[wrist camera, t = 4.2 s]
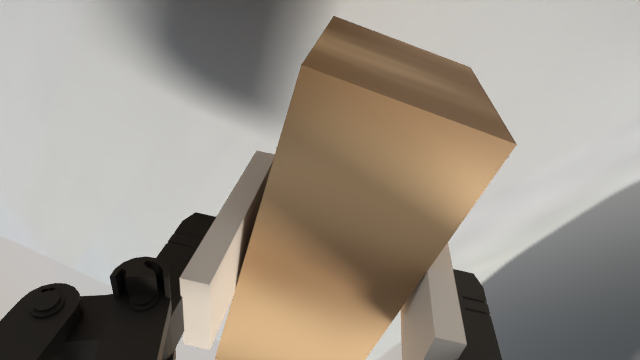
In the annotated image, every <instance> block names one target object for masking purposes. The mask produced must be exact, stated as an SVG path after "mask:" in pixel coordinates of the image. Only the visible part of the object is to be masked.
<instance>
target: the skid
mask: <svg viewBox="0 0 640 360" xmlns="http://www.w3.org/2000/svg"><path fill="white" fill-rule="evenodd" d="M516 145H517V144H516V143H515V141H514V139H513V138H512V136H511V134H510V133H509V131H508V129H507V128H506V126H505V124H504V123H503V121H502V119H501V118H500V116H499V114H498V113H497V111H496V109H495V108H494V106H493V104H492V103H491V101H490V99H489V98H488V96H487V94H486V93H485V91H484V89H483V88H482V86H481V84H480V83H479V81H478V79H477V78H476V76H475V74H474V73H473V71H472V69H471V68H470V67H468V66H465V65H463V64H460V63H457V62H455V61H452V60H449V59H447V58H444V57H441V56H439V55H436V54H433V53H431V52H428V51H425V50H423V49H420V48H417V47H415V46H412V45H409V44H407V43H404V42H401V41H399V40H396V39H394V38H391V37H388V36H386V35H383V34H380V33H378V32H375V31H372V30H370V29H367V28H364V27H362V26H359V25H356V24H354V23H351V22H348V21H346V20H343V19H340V18H338V17H335V16H333V18H332V19H331V21H330V23H329V24H328V26H327V27H326V29H325V30H324V32H323V33H322V35H321V36H320V38H319V39H318V41H317V42H316V44H315V45H314V47H313V48H312V50H311V51H310V53H309V54H308V56H307V57H306V59H305V60H304V62H303V63H302V65H301V68H300V72H299V75H298V78H297V82H296V85H295V89H294V92H293V95H292V99H291V102H290V106H289V109H288V112H287V116H286V119H285V123H284V126H283V129H282V133H281V136H280V140H279V143H278V146H277V150H276V153H275V157H274V160H273V163H272V167H271V170H270V174H269V177H268V180H267V184H266V187H265V191H264V194H263V197H262V201H261V204H260V208H259V211H258V214H257V218H256V221H255V225H254V228H253V231H252V235H251V238H250V242H249V245H248V248H247V252H246V255H245V258H244V262H243V265H242V269H241V272H240V275H239V279H238V282H237V286H236V289H235V292H234V296H233V299H232V303H231V306H230V309H229V313H228V316H227V320H226V323H225V326H224V330H223V333H222V337H221V340H220V343H219V347H218V350H217V354H216V357H215V359H216V360H365V359H366V358H367V356H368V355H369V353H370V352H371V351H372V349H373V348H374V346H375V345H376V343H377V342H378V341H379V339H380V338H381V336H382V335H383V334H384V332H385V331H386V329H387V328H388V326H389V325H390V324H391V322H392V321H393V319H394V318H395V316H396V315H397V314H398V312H399V311H400V309H401V308H402V307H403V305H404V304H405V302H406V301H407V299H408V298H409V297H410V295H411V294H412V292H413V291H414V290H415V288H416V287H417V285H418V284H419V282H420V281H421V280H422V278H423V277H424V275H425V274H426V272H427V271H428V270H429V268H430V267H431V265H432V264H433V263H434V261H435V260H436V258H437V257H438V255H439V254H440V253H441V251H442V250H443V248H444V247H445V245H446V244H447V243H448V241H449V240H450V238H451V237H452V236H453V234H454V233H455V231H456V230H457V228H458V227H459V226H460V224H461V223H462V221H463V220H464V218H465V217H466V216H467V214H468V213H469V211H470V210H471V209H472V207H473V206H474V204H475V203H476V201H477V200H478V199H479V197H480V196H481V194H482V193H483V191H484V190H485V189H486V187H487V186H488V184H489V183H490V182H491V180H492V179H493V177H494V176H495V174H496V173H497V172H498V170H499V169H500V167H501V166H502V164H503V163H504V162H505V160H506V159H507V157H508V156H509V155H510V153H511V152H512V150H513V149H514V147H515V146H516Z"/></svg>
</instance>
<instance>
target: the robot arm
mask: <svg viewBox="0 0 640 360" xmlns="http://www.w3.org/2000/svg"><path fill="white" fill-rule="evenodd" d="M274 157H275V155H274V154H270V153H265V152H261V151H256V153H255V154H254V156H253V157H252V159H251V161H250V162H249V164H248V166H247V167H246V169H245V171H244V172H243V174H242V176H241V177H240V179H239V181H238V182H237V184H236V186H235V187H234V189H233V191H232V192H231V194H230V195H229V197H228V199H227V200H226V202H225V204H224V205H223V207H222V209H221V210H220V212H219V214H218V215H217V217H214V216H209V215H205V214H200V213H194V214H193V215H191V216H189V217H188V218H186V219H185V220H183V221H182V223H181V224H180V225H179V227H178V228H177V230H176V231H175V233H174V234H173V235H172V237H171V238H170V239H169V241H168V244H166V245H165V246H164V248H163V249H162V251H161V252H160V253H159V255H158V256H157V258H151V257H139V258H134V259H131V260H128V261H126V262H124V263H122V264H121V265H119V266H118V267H117V268H115V270H114V271H113V273H112V274H111V276H110V280H111V285H112V290H113V294H110V295H98V296H80V294H79V292H78V291H77V290H76V289H75V287H73V286H70V285H68V284H62V283H54V284H49V285H45V286H41V287H39V288H37V289H35V290H33V291H31V292H29V293H28V294H27V295H26V296H24V297H23V298H22V299H21V300H20V301H19V302H18V303H17V304H16V305H15V306H14V307H13V308H12V309H11V310H10V311H9V312H8V313H7V314H6V315H5V317H4V318H3V319H2V320H1V321H0V360H175V359H176V351H175V348H176V346H177V344H178V342H179V340H180V338H181V336H182V334H183V341H184V344H186V345H191V346H195V347H199V348H204V349H207V350H210V348H211V346H212V343H213V341H214V339H215V337H216V334H217V332H218V330H219V327H220V325H221V323H222V320H223V318H224V316H225V313H226V311H227V309H228V306H229V304H230V302H231V299H232V297H233V295H234V292H235V289H236V286H237V282H238V279H239V275H240V272H241V269H242V265H243V262H244V258H245V255H246V252H247V248H248V245H249V242H250V238H251V235H252V231H253V228H254V225H255V221H256V218H257V214H258V211H259V208H260V204H261V201H262V197H263V194H264V191H265V187H266V184H267V180H268V177H269V174H270V170H271V167H272V163H273V160H274ZM486 302H487V301H486V297H485V293H484V289H483V287H482V285H481V284H480V282H479V281H478V280H477V278H476V277H475V275H474V274H473V273H468V272H464V271H459V270H455V269H453V268H452V262H451V257H450V252H449V246H448V243H447V244H446V245H445V247H444V248H443V250H442V251H441V253H440V254H439V255H438V257H437V258H436V260H435V261H434V263H433V264H432V265H431V267H430V268H429V270H428V271H427V272H426V274H425V275H424V277H423V278H422V280H421V281H420V282H419V284H418V285H417V287H416V288H415V290H414V291H413V292H412V294H411V295H410V297H409V298H408V299H407V301H406V302H405V304H404V305H403V307H402V308H401V335H402V360H502V358H501V354H500V350H499V346H498V342H497V339H496V335H495V331H494V327H493V323H492V320H491V317H490V316H489V315H490V312H489V308H488V305H487V304H486Z"/></svg>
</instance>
